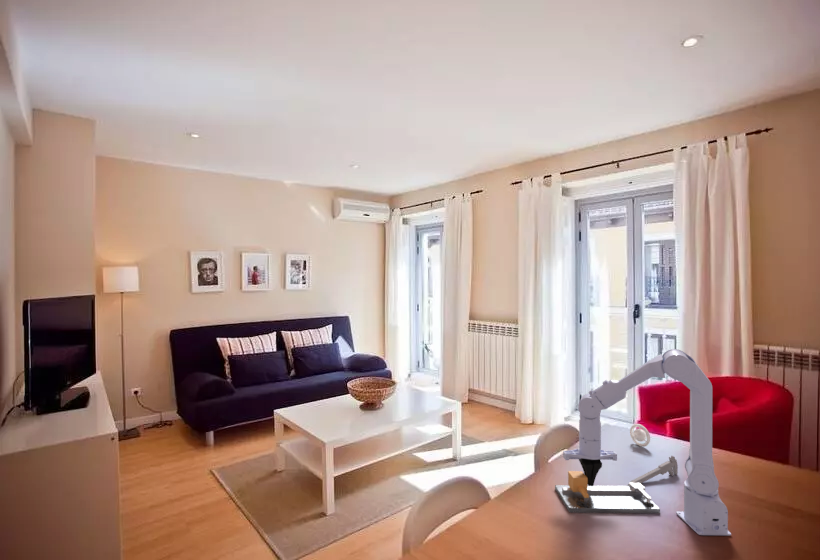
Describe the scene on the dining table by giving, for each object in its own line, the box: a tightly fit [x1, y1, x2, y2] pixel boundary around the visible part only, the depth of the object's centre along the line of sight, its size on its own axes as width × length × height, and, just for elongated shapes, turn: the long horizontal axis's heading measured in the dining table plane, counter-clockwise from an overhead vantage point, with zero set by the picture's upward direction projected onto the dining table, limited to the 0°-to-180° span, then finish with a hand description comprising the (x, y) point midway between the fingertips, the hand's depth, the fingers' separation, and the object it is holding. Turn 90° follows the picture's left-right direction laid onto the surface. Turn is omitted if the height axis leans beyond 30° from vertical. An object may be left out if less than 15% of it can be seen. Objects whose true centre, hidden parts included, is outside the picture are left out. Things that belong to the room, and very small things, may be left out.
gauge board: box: [554, 482, 661, 514], centre depth 118 cm, size 12×24×3 cm, turn 88°
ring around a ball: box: [629, 423, 651, 448], centre depth 154 cm, size 8×6×8 cm
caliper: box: [626, 455, 679, 486], centre depth 129 cm, size 20×1×6 cm, turn 112°
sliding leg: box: [567, 470, 589, 504], centre depth 118 cm, size 8×4×5 cm, turn 178°
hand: (589, 484), depth 120 cm, fingers closed
